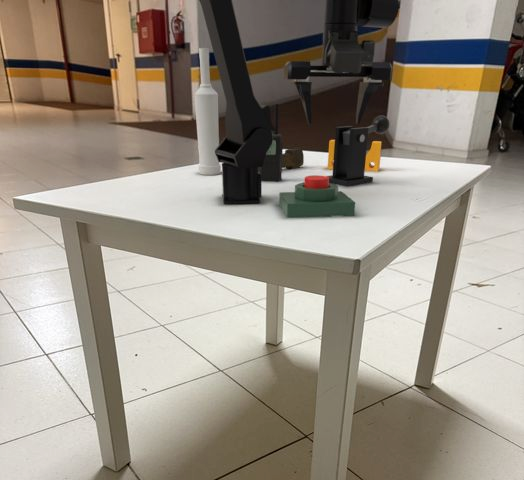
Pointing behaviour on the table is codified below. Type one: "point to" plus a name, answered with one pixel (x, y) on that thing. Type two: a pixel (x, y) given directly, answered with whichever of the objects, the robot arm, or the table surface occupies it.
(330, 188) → the button box
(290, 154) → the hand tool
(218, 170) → the bottle
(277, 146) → the walkie-talkie
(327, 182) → the button
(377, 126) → the lever
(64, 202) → the table surface
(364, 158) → the bracket
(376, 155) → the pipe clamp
